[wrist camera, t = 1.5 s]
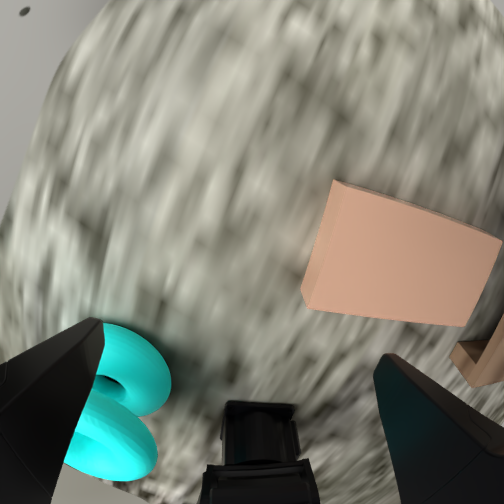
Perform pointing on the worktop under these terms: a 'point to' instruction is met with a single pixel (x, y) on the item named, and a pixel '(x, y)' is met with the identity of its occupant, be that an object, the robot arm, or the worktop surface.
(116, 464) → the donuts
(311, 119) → the worktop surface
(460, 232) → the tile
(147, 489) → the worktop surface
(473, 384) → the shelf
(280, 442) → the robot arm
